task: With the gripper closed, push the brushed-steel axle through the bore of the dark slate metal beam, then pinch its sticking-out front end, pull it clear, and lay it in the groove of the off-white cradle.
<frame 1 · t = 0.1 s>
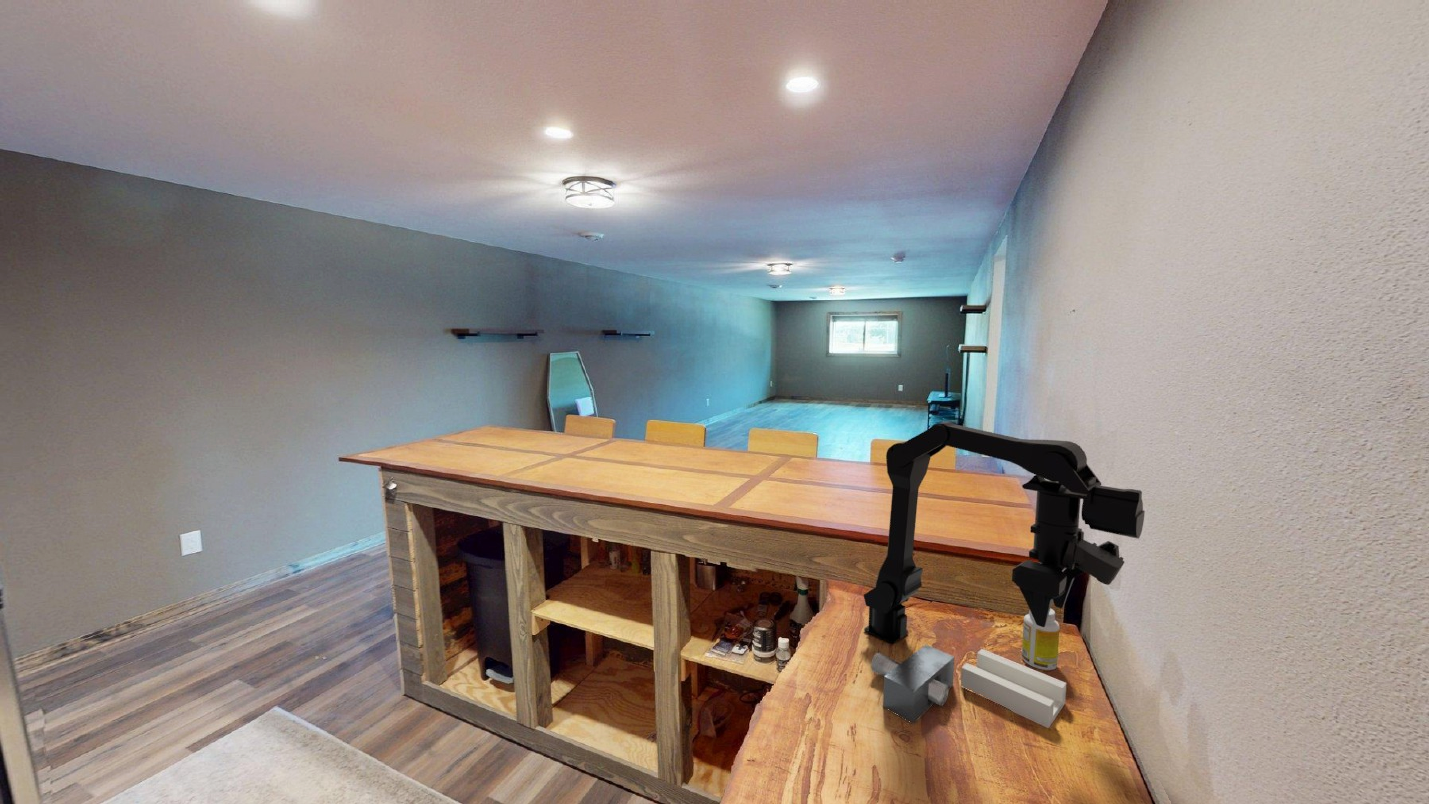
hand: (1050, 616, 82), 15 cm above the table, tool pointing down, fingers open, 9 cm apart
axle: (908, 677, 86), point 2 cm above the table, touching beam
supplement bottle: (1038, 663, 94), on the table
cradle: (1011, 694, 85), on the table
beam: (919, 696, 85), on the table
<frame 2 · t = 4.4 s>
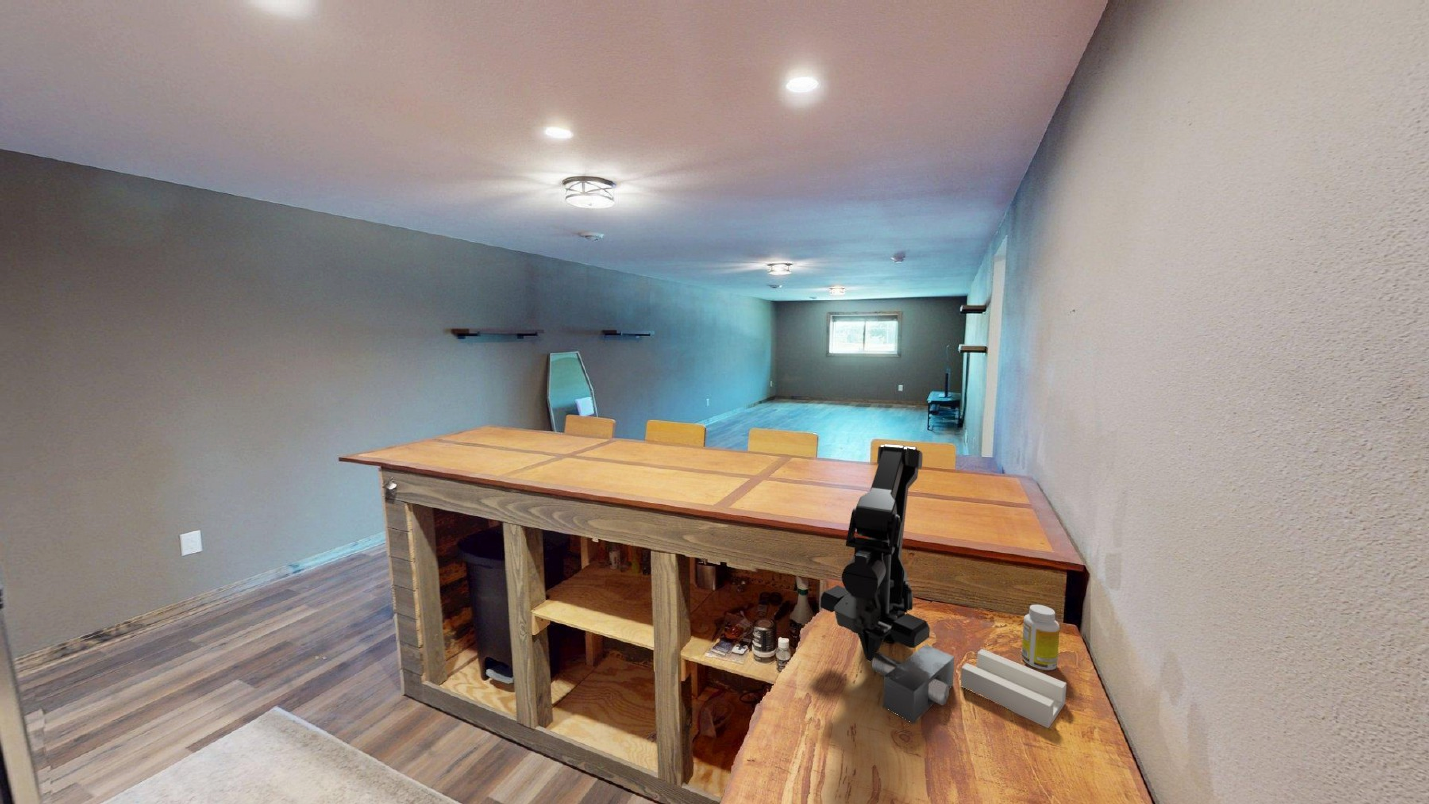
hand: (869, 659, 91), 2 cm above the table, tool pointing down, fingers closed
axle: (908, 677, 86), point 2 cm above the table, tilted 8°, touching gripper
everything else where it was.
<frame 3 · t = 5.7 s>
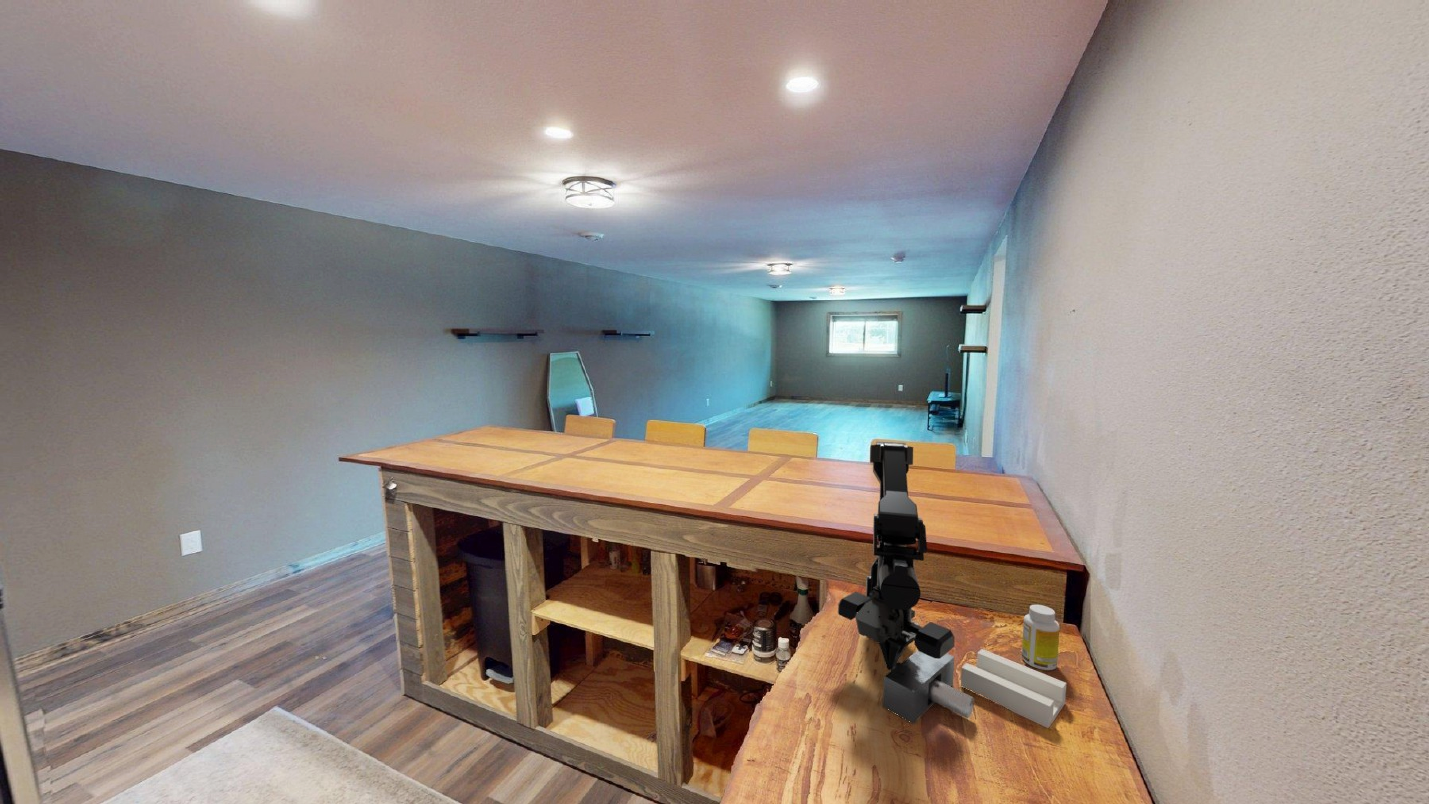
hand: (890, 669, 88), 2 cm above the table, tool pointing down, fingers closed
axle: (931, 688, 83), point 2 cm above the table, tilted 8°, touching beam, gripper
everything else where it was.
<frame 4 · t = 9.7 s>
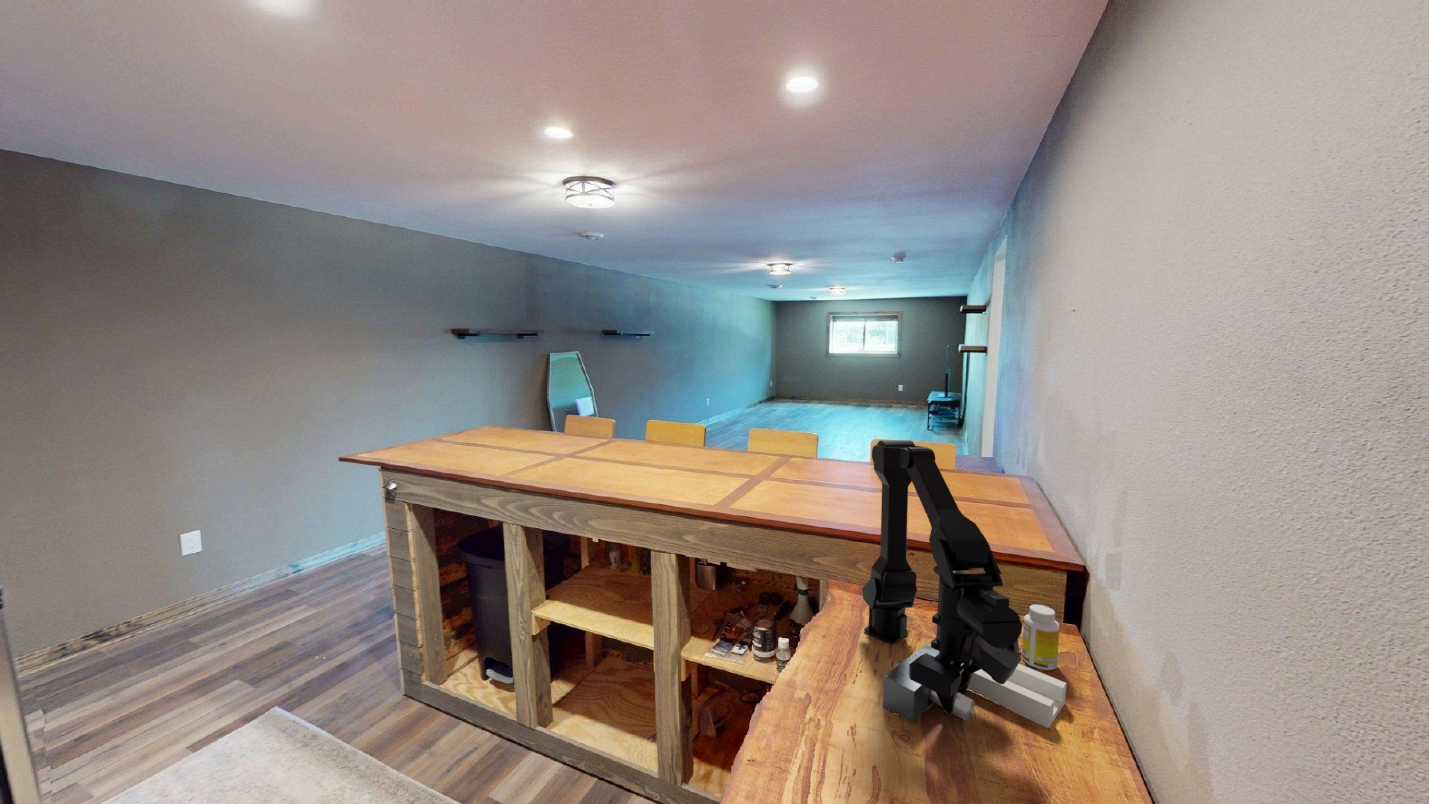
hand: (953, 707, 80), 1 cm above the table, tool pointing down, fingers closed on axle, 3 cm apart
axle: (931, 689, 83), point 2 cm above the table, touching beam, gripper
everything else where it was.
when the fingers open (4 cm above the table, at t = 15.4 s): axle drops 3 cm, resting on cradle.
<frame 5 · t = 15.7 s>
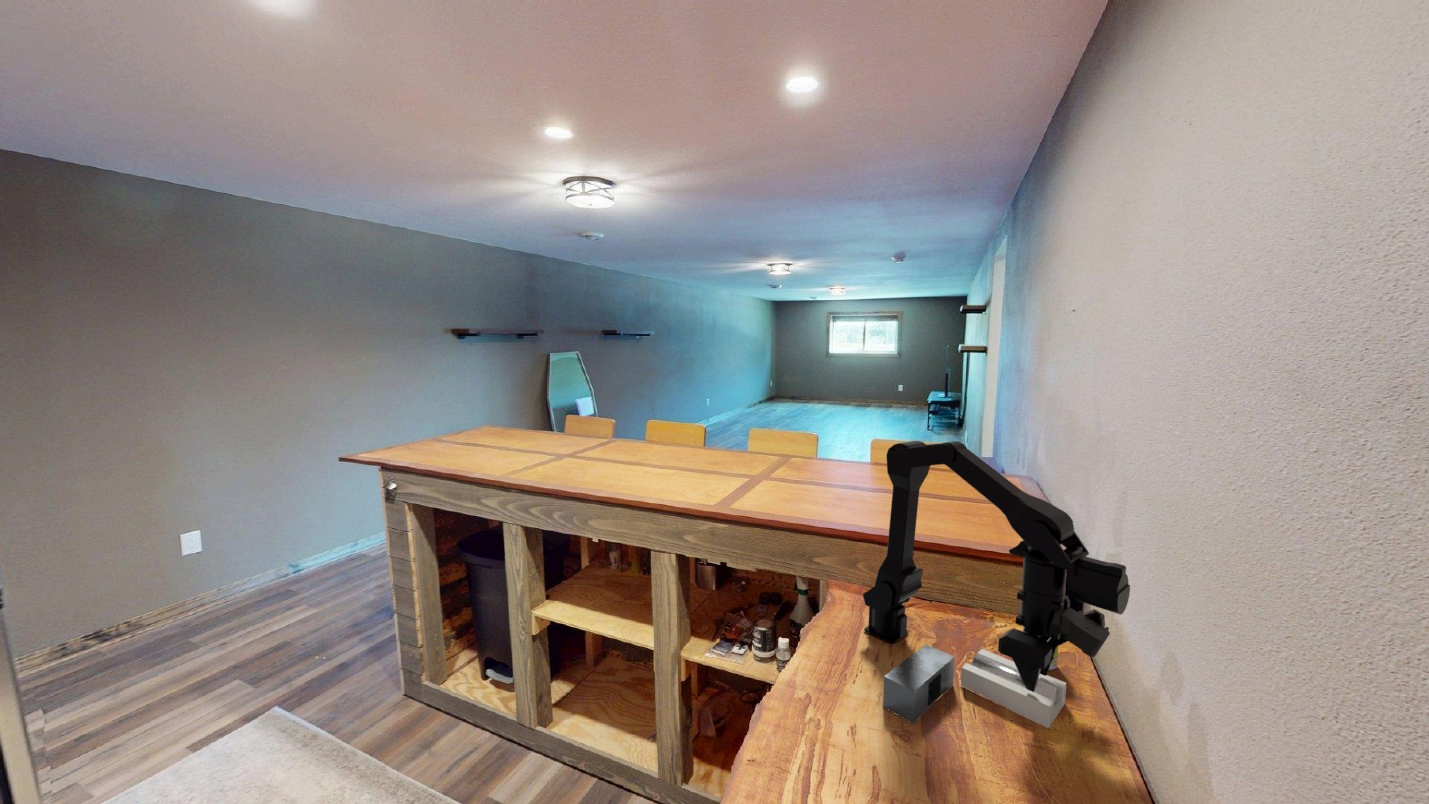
hand: (1036, 682, 82), 4 cm above the table, tool pointing down, fingers open, 6 cm apart
axle: (1012, 680, 85), point 3 cm above the table, touching cradle
everything else where it was.
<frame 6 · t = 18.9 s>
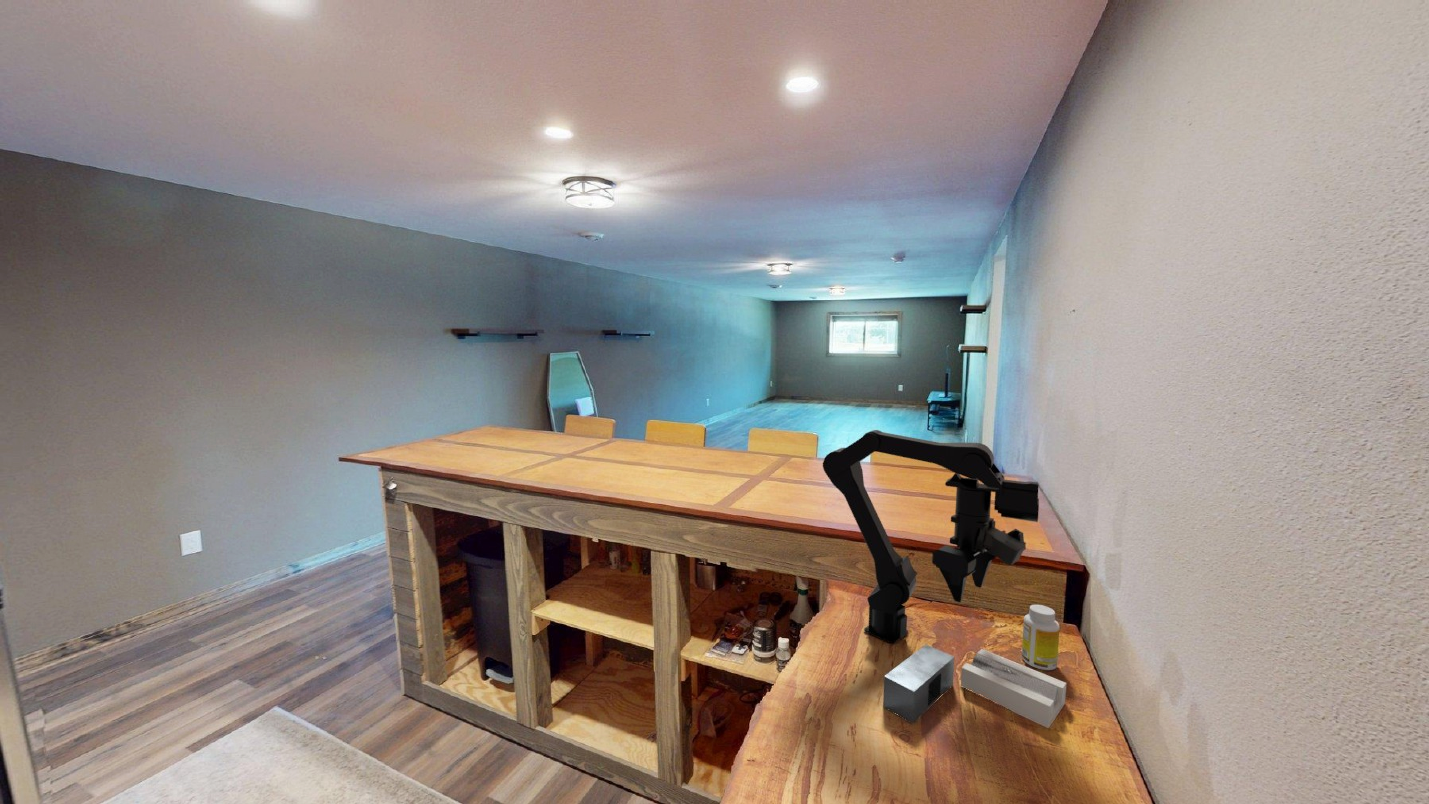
hand: (968, 593, 95), 12 cm above the table, tool pointing down, fingers open, 9 cm apart
nothing on the table moved.
at the end: axle 0.1 cm off-centre on the cradle, point 2.6 cm above the cradle's base; the gripper is holding nothing; axle touching cradle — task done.
